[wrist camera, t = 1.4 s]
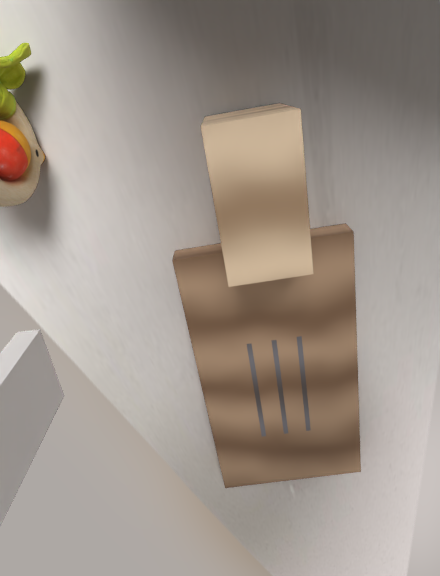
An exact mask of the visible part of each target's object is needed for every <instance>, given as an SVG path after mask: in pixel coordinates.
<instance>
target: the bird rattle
mask: <svg viewBox="0 0 440 576" xmlns="http://www.w3.org/2000/svg"><path fill="white" fill-rule="evenodd" d="M30 55H31V50H30V46H29V43H22V44H21V45H20V46H19V47H18V48H17V49H16V50H15V51H13V52H12V53H11V54H10V55H9V56H5V57H0V206H2V207H7V206H15V205H19V204H22V203H24V202H25V201H27V200H28V199H29V198H30V197H31V196H32V194H33V193H34V191H35V189H36V187H37V184H38V181H39V176H40V166H41V164H42V163H43V162H44V160H45V155H44V153H43V151H42V150H41V148H40V147H39V145H38V143H37V140H36V137H35V134H34V132H33V129H32V127H31V125H30V123H29V121H28V119H27V117H26V116H25V114H24V112H23V111H22V109H21V108H20V106H19V105H18V103H17V102H16V101H15V98H14V96H13V95H12V94H11V93H10V92H8V90H7V89H16V88H19V87H20V86H21V85H22V84H23V82H24V79H25V70H24V68H23V66H22V65H21V64H20V62H21V61H22V60H24V59H26V58H27V57H29V56H30Z"/></svg>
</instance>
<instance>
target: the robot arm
mask: <svg viewBox="0 0 440 576" xmlns="http://www.w3.org/2000/svg"><path fill="white" fill-rule="evenodd" d="M63 397H64V394H63V391H62V388H61V385H60V383H59V380H58V377H57V374H56V372H55V369H54V366H53V364H52V361H51V358H50V355H49V352H48V350H47V347H46V344H45V342H44V339H43V336H42V333H41V330H30V331H20V332H17V333H16V334H15V335H14V336H13V338H12V339H11V341H10V342H9V343H8V344H7V345H6V346H5V348H4V349H3V350H2V351H1V353H0V526H1V524H2V522H3V520H4V518H5V516H6V514H7V512H8V510H9V507H10V506H11V503H12V501H13V499H14V497H15V495H16V493H17V491H18V489H19V487H20V485H21V483H22V481H23V479H24V477H25V475H26V473H27V471H28V469H29V467H30V465H31V463H32V461H33V459H34V457H35V454H36V452H37V450H38V448H39V446H40V444H41V442H42V440H43V438H44V436H45V434H46V432H47V430H48V428H49V426H50V424H51V422H52V420H53V418H54V415H55V414H56V412H57V410H58V407H59V405H60V403H61V401H62V399H63Z"/></svg>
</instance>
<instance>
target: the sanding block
mask: <svg viewBox="0 0 440 576" xmlns="http://www.w3.org/2000/svg"><path fill="white" fill-rule="evenodd" d="M201 132H202V137H203V143H204V149H205V154H206V160H207V166H208V172H209V177H210V183H211V189H212V194H213V200H214V206H215V212H216V217H217V223H218V229H219V234H220V240H221V246H222V252H223V257H224V263H225V269H226V274H227V280H228V286H229V287H232V286H239V285H245V284H252V283H259V282H265V281H272V280H278V279H285V278H291V277H298V276H304V275H311V274H313V262H312V249H311V236H310V224H309V211H308V198H307V185H306V172H305V159H304V146H303V133H302V120H301V109H299V108H296V107H292V106H288V105H285V104H281V103H276V104H271V105H265V106H260V107H254V108H249V109H243V110H237V111H232V112H226V113H221V114H215V115H210V116H205V117H204V120H203V122H202V125H201Z"/></svg>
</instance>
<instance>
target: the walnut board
mask: <svg viewBox="0 0 440 576" xmlns="http://www.w3.org/2000/svg"><path fill="white" fill-rule="evenodd" d="M310 236H311V249H312V262H313V274H311V275H304V276H298V277H291V278H285V279H278V280H272V281H265V282H259V283H252V284H245V285H239V286H232V287H229V286H228V280H227V274H226V269H225V263H224V257H223V252H222V246H221V243H220V244H214V245H207V246H201V247H195V248H189V249H182V250H176V251H175V252H174V256H173V260H172V261H173V265H174V269H175V274H176V278H177V282H178V287H179V291H180V295H181V299H182V304H183V308H184V312H185V317H186V321H187V325H188V330H189V334H190V338H191V343H192V347H193V351H194V356H195V360H196V364H197V369H198V373H199V377H200V381H201V386H202V390H203V394H204V399H205V403H206V407H207V412H208V416H209V420H210V425H211V429H212V433H213V438H214V442H215V446H216V451H217V455H218V459H219V464H220V468H221V472H222V476H223V481H224V485H225V488H229V487H237V486H245V485H254V484H262V483H270V482H279V481H287V480H295V479H303V478H312V477H320V476H328V475H337V474H345V473H353V472H361V464H360V431H359V398H358V365H357V332H356V299H355V266H354V233H353V231H352V230H351V229H350V228H349V226H348V225H347V224H346V223H345V224H339V225H333V226H326V227H320V228H314V229H310Z"/></svg>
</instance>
